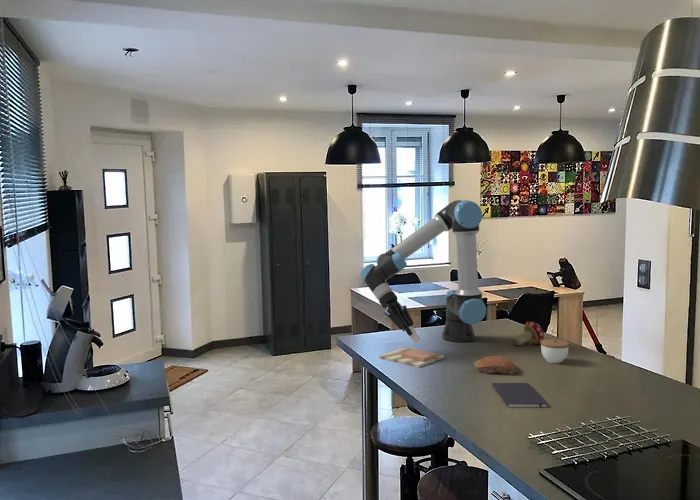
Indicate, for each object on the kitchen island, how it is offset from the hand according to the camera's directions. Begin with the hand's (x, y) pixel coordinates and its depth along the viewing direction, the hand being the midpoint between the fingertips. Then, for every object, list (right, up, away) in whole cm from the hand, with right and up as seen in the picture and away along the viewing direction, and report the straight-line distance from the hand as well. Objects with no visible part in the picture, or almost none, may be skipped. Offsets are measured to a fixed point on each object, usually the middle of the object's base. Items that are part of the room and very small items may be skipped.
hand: (417, 340), depth 240 cm
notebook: (+29, -12, -43) cm, 54 cm away
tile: (+1, -6, 0) cm, 6 cm away
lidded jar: (+55, -8, -2) cm, 56 cm away
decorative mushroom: (+52, -6, +25) cm, 58 cm away
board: (-2, -8, +3) cm, 8 cm away
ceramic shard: (+28, -9, -13) cm, 32 cm away
